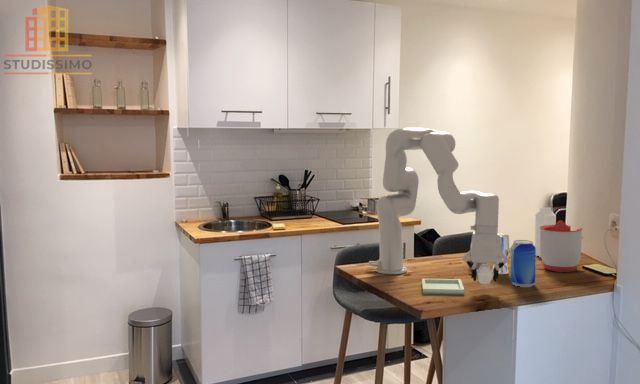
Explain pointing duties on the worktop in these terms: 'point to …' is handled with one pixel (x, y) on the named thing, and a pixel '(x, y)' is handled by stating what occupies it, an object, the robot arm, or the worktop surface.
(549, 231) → the citrus juicer
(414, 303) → the worktop surface
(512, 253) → the beer can
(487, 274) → the white round lump
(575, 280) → the worktop surface
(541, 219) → the milk
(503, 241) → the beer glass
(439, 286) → the tray
